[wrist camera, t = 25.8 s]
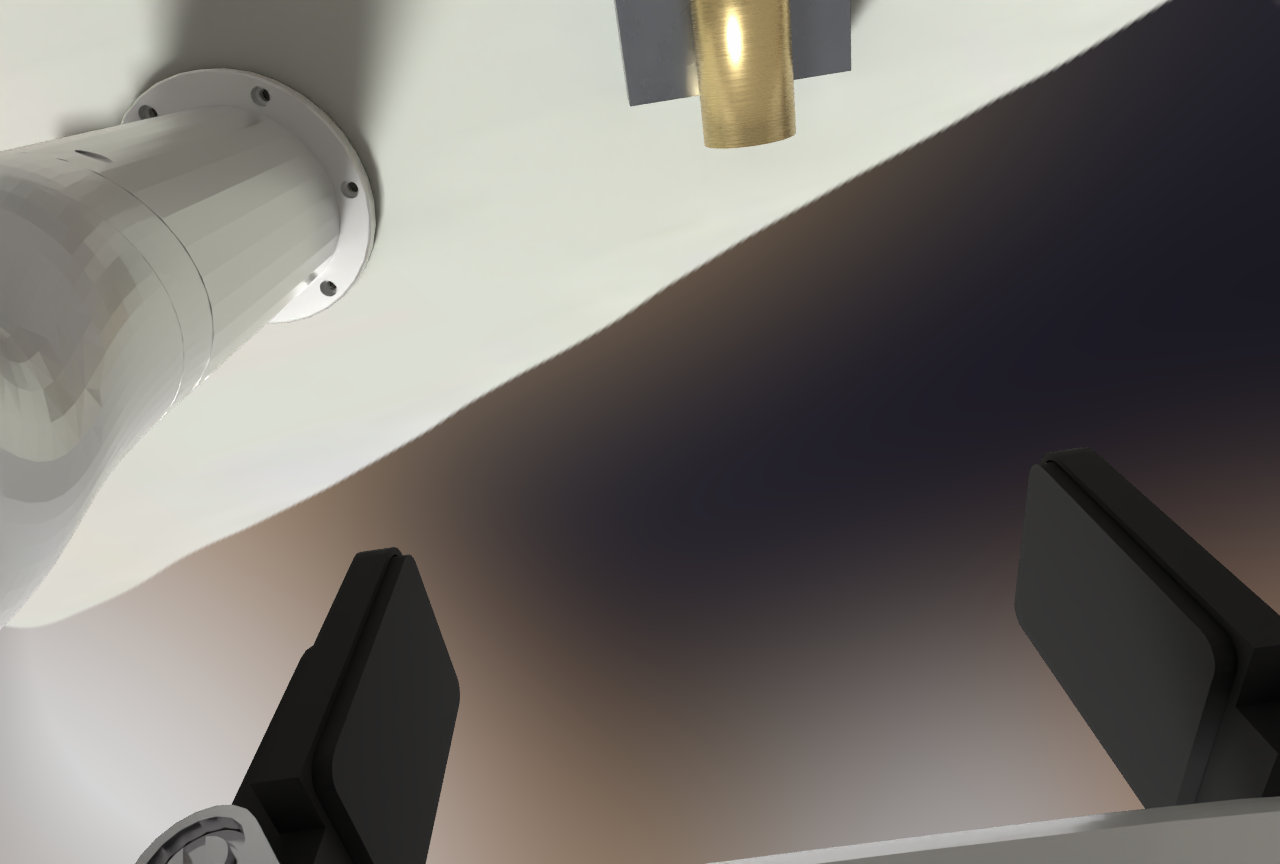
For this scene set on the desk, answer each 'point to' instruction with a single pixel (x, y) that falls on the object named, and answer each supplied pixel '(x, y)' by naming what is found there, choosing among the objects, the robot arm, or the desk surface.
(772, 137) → the axle
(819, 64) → the v block
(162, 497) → the desk surface
